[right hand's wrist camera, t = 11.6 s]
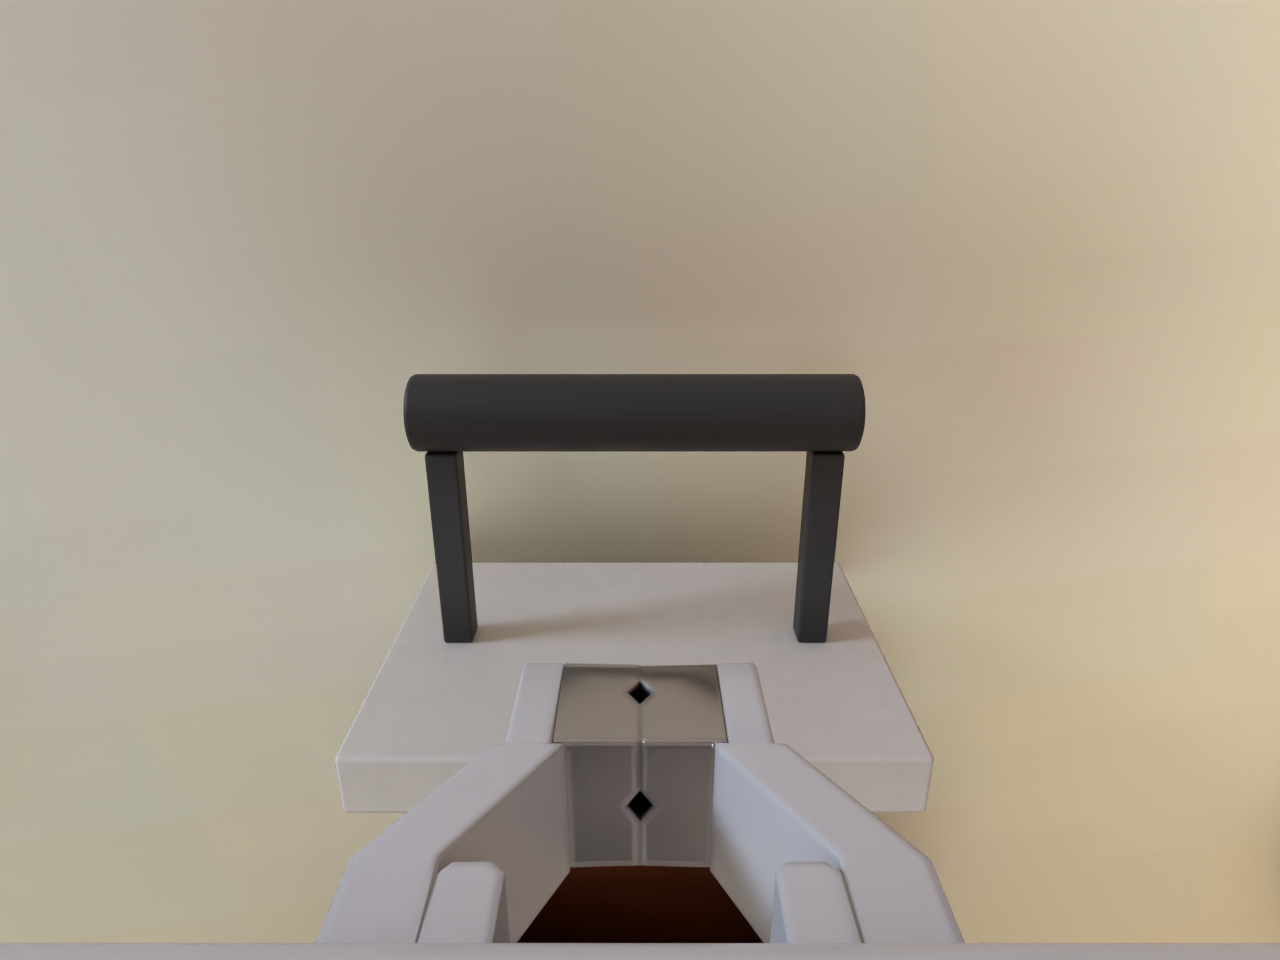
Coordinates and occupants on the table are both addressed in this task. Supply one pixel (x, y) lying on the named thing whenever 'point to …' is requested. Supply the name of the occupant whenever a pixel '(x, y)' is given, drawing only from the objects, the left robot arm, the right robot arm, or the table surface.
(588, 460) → the table surface
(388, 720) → the drawer
